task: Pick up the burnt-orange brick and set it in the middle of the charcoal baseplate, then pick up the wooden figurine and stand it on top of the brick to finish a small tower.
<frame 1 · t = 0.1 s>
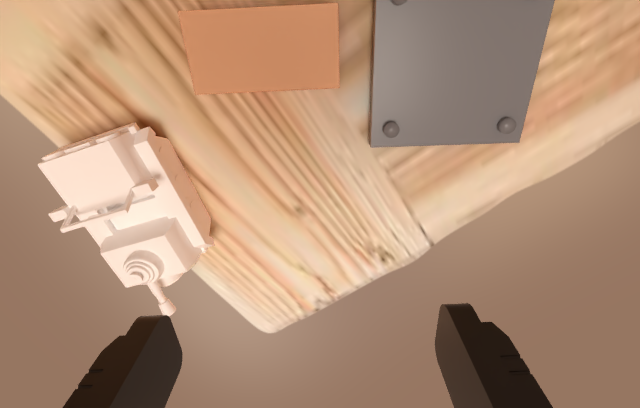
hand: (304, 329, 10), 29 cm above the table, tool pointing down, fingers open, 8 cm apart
brick: (271, 48, 33), on the table
baseplate: (450, 63, 33), on the table
toy tank: (158, 204, 41), on the table
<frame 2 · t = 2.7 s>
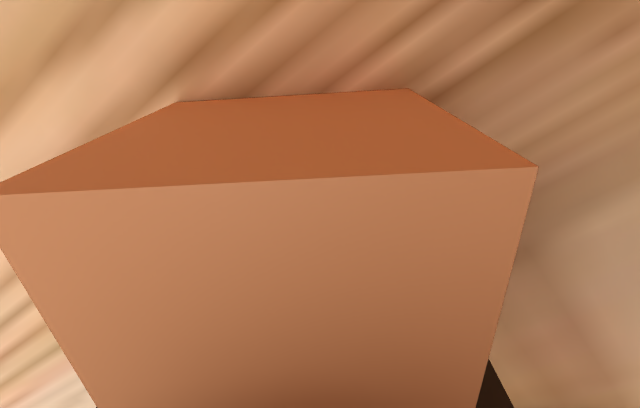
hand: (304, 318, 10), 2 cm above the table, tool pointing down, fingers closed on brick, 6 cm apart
brick: (308, 278, 12), on the table, touching gripper
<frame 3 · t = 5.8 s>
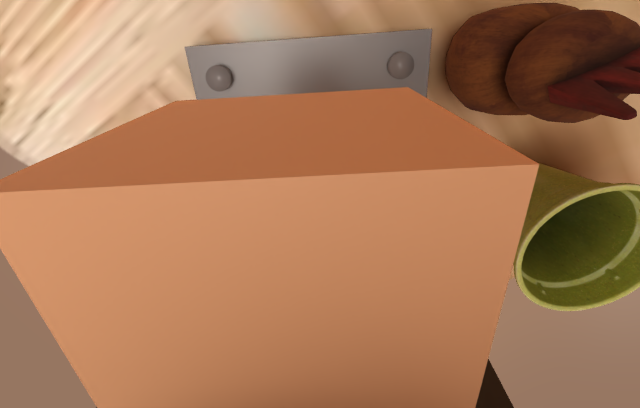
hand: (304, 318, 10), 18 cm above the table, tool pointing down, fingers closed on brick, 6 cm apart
brick: (307, 277, 12), point 16 cm above the table, touching gripper
wooden figurine: (479, 57, 23), on the table
baseplate: (316, 150, 26), on the table
plant pot: (518, 193, 28), on the table
when the fingers open (5 cm above the table, at t = 8.8 s): brick drops 1 cm, resting on baseplate.
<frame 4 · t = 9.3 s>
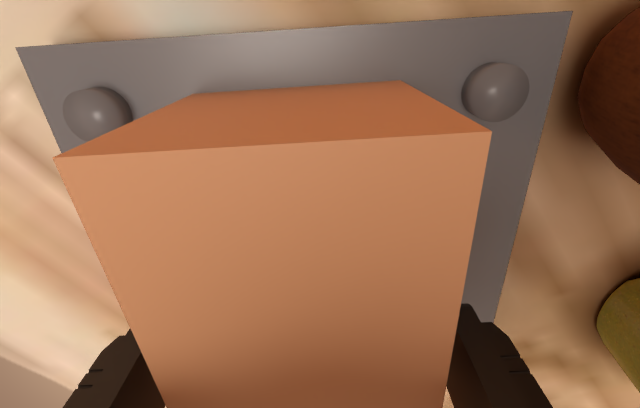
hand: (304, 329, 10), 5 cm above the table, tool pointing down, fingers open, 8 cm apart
brick: (311, 256, 13), point 1 cm above the table, touching baseplate
wooden figurine: (638, 72, 11), on the table
baseplate: (309, 236, 14), on the table
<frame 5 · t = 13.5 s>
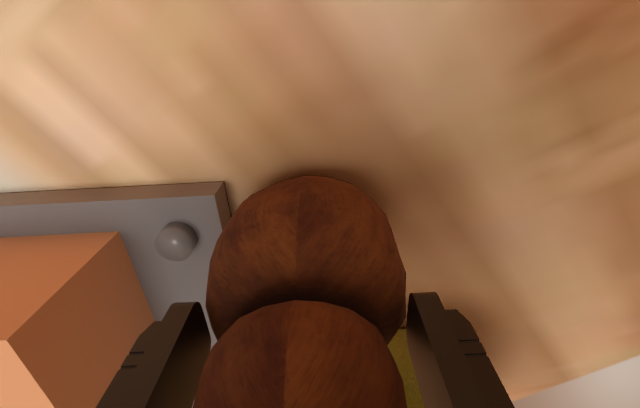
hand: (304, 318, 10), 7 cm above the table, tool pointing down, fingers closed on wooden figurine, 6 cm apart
brick: (101, 333, 18), point 1 cm above the table, touching baseplate
wooden figurine: (311, 212, 16), on the table, touching gripper
baseplate: (115, 313, 19), on the table
plant pot: (399, 356, 21), on the table
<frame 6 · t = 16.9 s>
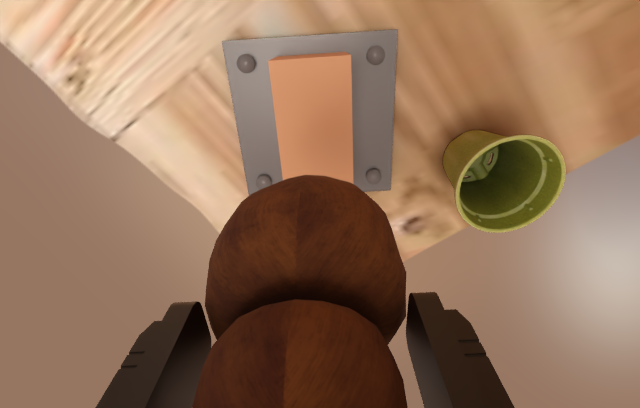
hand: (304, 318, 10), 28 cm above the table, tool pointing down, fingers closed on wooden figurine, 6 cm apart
brick: (316, 122, 33), point 1 cm above the table, touching baseplate
wooden figurine: (311, 211, 16), point 21 cm above the table, touching gripper
baseplate: (315, 119, 35), on the table
plant pot: (469, 155, 37), on the table
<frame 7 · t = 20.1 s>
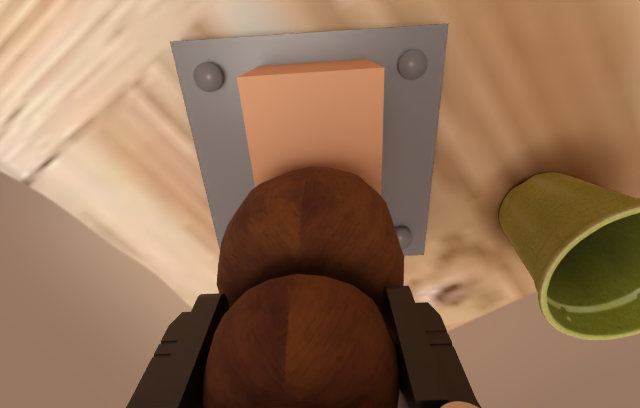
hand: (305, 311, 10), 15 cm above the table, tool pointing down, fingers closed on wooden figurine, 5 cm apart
brick: (319, 163, 22), point 1 cm above the table, touching baseplate, wooden figurine
wooden figurine: (317, 202, 17), point 7 cm above the table, touching brick, gripper
baseplate: (316, 157, 24), on the table
plant pot: (536, 205, 26), on the table
when the fingers open (15 cm above the table, at t = 20.2 s): wooden figurine stays where it is, resting on brick.
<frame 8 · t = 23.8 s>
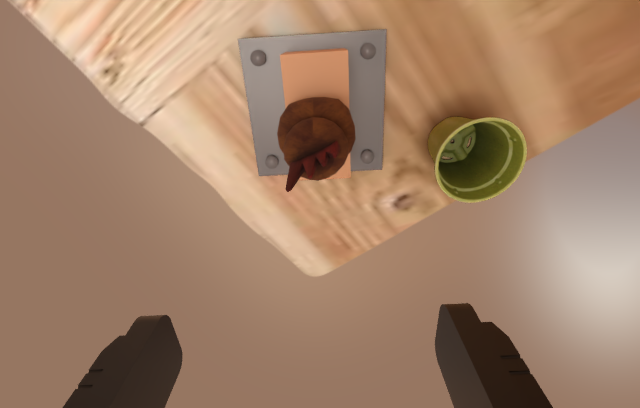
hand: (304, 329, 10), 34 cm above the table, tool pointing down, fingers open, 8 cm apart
brick: (318, 109, 39), point 1 cm above the table, touching baseplate, wooden figurine
wooden figurine: (317, 120, 34), point 7 cm above the table, touching brick
baseplate: (316, 107, 40), on the table
plant pot: (450, 139, 42), on the table
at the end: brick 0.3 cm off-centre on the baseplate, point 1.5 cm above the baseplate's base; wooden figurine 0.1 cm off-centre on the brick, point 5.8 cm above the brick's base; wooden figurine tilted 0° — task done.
